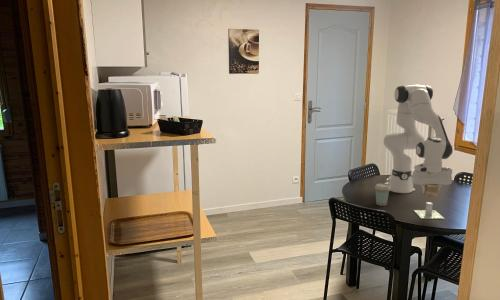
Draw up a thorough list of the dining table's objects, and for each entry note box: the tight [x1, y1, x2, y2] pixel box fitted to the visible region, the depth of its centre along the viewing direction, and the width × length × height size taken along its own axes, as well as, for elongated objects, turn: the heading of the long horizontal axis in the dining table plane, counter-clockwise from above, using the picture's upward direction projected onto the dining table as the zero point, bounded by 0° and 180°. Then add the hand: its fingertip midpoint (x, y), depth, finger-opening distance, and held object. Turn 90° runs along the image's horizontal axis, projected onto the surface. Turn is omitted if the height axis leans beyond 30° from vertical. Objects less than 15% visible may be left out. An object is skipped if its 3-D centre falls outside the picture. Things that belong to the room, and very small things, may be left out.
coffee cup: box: [374, 182, 390, 207], centre depth 225 cm, size 8×8×12 cm
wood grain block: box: [423, 185, 439, 198], centre depth 205 cm, size 5×5×7 cm
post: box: [413, 201, 445, 220], centre depth 208 cm, size 12×12×7 cm
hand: (430, 192), depth 205 cm, fingers closed on wood grain block, 5 cm apart
